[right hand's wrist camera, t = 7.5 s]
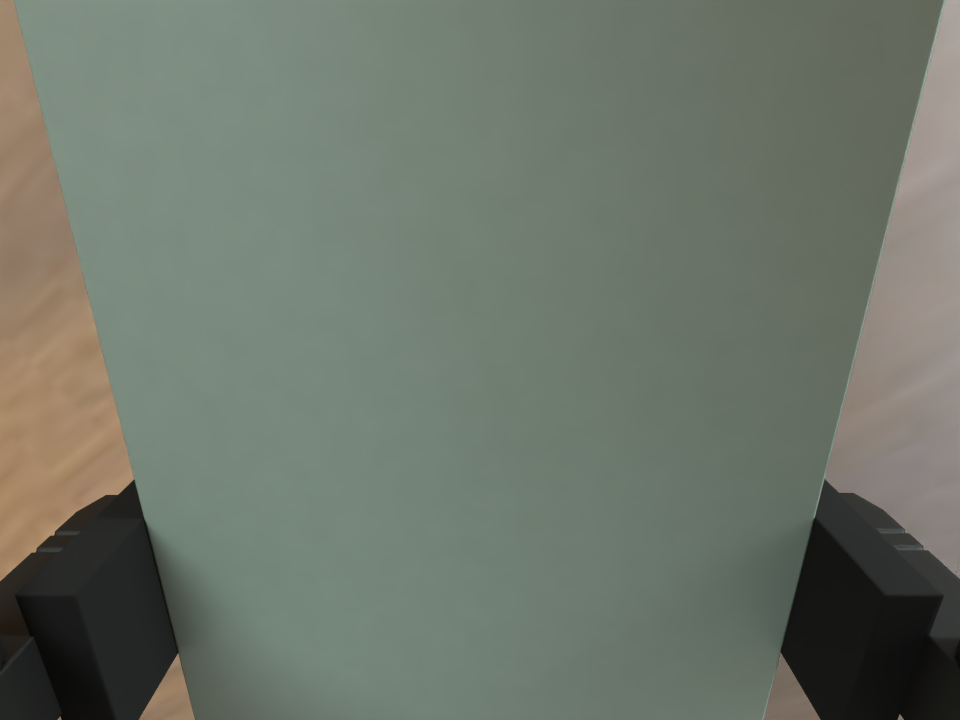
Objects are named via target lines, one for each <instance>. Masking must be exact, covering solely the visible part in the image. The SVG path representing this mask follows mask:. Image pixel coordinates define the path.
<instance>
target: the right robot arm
mask: <svg viewBox="0 0 960 720" xmlns="http://www.w3.org/2000/svg"><path fill="white" fill-rule="evenodd" d="M781 653H782V655H783V657H784V658H785V660H786V662H787V663H788V665H789V667H790V669H791V670H792V672H793V674H794V675H795V677H796V679H797V680H798V682H799V684H800V685H801V687H802V689H803V690H804V692H805V694H806V695H807V697H808V699H809V701H810V702H811V704H812V706H813V707H814V709H815V711H816V712H817V714H818V716H819V717H820V719H821V720H897V719H898V717H899V714H900V715H901V716H902V717H903V719H904V720H960V579H959V578H958V577H957V576H956V575H954V574H953V573H952V572H951V571H950V570H949V569H948V568H947V567H946V566H945V565H943V564H942V563H941V562H940V561H939V560H938V559H937V558H936V557H935V556H933V555H932V554H931V553H930V552H929V551H928V550H924V549H923V546H922V545H921V544H920V543H919V542H918V541H917V540H916V539H915V538H914V537H912V536H911V535H910V534H906V533H905V529H904V528H903V527H901V526H900V525H899V524H898V523H897V522H896V521H895V520H894V519H893V518H892V517H890V516H889V515H888V514H887V513H886V512H885V511H884V510H882V509H881V508H879V507H877V506H875V505H874V504H872V503H870V502H868V501H867V500H865V499H863V498H861V497H859V496H858V495H856V494H854V493H838V492H837V491H836V490H835V489H834V488H833V487H832V486H831V485H830V484H829V483H828V482H827V481H826V480H825V479H824V483H823V487H822V491H821V495H820V499H819V503H818V507H817V510H816V514H815V518H814V522H813V526H812V530H811V534H810V538H809V542H808V546H807V550H806V554H805V558H804V562H803V566H802V570H801V574H800V578H799V582H798V585H797V589H796V593H795V597H794V601H793V605H792V609H791V613H790V617H789V621H788V625H787V629H786V633H785V637H784V641H783V645H782V649H781ZM177 654H178V650H177V646H176V642H175V638H174V634H173V630H172V626H171V622H170V618H169V614H168V610H167V606H166V602H165V598H164V594H163V590H162V586H161V582H160V578H159V574H158V570H157V566H156V562H155V559H154V555H153V551H152V547H151V543H150V539H149V535H148V531H147V527H146V523H145V519H144V515H143V511H142V507H141V503H140V499H139V495H138V491H137V487H136V483H135V479H134V480H133V481H132V482H131V483H130V484H129V485H128V486H127V487H126V488H125V489H124V490H123V491H122V492H121V493H120V494H119V495H105V496H104V497H102V498H100V499H98V500H97V501H95V502H93V503H91V504H90V505H88V506H86V507H84V508H83V509H81V510H79V511H77V512H76V513H75V514H74V515H73V516H72V517H71V518H69V519H68V520H67V521H66V522H65V523H64V524H63V525H62V526H61V527H60V528H58V529H57V530H56V531H55V535H54V536H50V537H49V538H48V539H46V540H45V541H44V542H43V543H42V544H41V545H40V546H39V547H38V548H37V551H36V553H31V554H30V555H29V556H28V557H27V558H26V559H24V560H23V561H22V562H21V563H20V564H19V565H18V566H17V567H16V568H15V569H13V570H12V571H11V572H10V573H9V574H8V575H7V576H6V577H5V578H4V579H3V580H1V581H0V720H57V719H58V718H59V717H60V716H61V719H62V720H139V718H140V716H141V715H142V713H143V711H144V710H145V708H146V706H147V704H148V703H149V701H150V699H151V698H152V696H153V694H154V693H155V691H156V689H157V688H158V686H159V684H160V683H161V681H162V679H163V677H164V676H165V674H166V672H167V671H168V669H169V667H170V666H171V664H172V662H173V661H174V659H175V657H176V656H177Z"/></svg>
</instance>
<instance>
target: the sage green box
mask: <svg viewBox="0 0 960 720" xmlns="http://www.w3.org/2000/svg"><path fill="white" fill-rule="evenodd" d="M945 1H946V0H14V3H15V7H16V11H17V15H18V19H19V23H20V27H21V31H22V35H23V39H24V43H25V47H26V51H27V55H28V59H29V63H30V67H31V71H32V75H33V78H34V82H35V86H36V90H37V94H38V98H39V102H40V106H41V110H42V114H43V118H44V122H45V126H46V130H47V134H48V138H49V142H50V146H51V150H52V154H53V158H54V162H55V166H56V170H57V174H58V178H59V182H60V186H61V190H62V194H63V198H64V201H65V205H66V209H67V213H68V217H69V221H70V225H71V229H72V233H73V237H74V241H75V245H76V249H77V253H78V257H79V261H80V265H81V269H82V273H83V277H84V281H85V285H86V289H87V293H88V297H89V301H90V305H91V309H92V313H93V317H94V320H95V324H96V328H97V332H98V336H99V340H100V344H101V348H102V352H103V356H104V360H105V364H106V368H107V372H108V376H109V380H110V384H111V388H112V392H113V396H114V400H115V404H116V408H117V412H118V416H119V420H120V424H121V428H122V432H123V436H124V440H125V443H126V447H127V451H128V455H129V459H130V463H131V467H132V471H133V475H134V479H135V483H136V487H137V491H138V495H139V499H140V503H141V507H142V511H143V515H144V519H145V523H146V527H147V531H148V535H149V539H150V543H151V547H152V551H153V555H154V559H155V562H156V566H157V570H158V574H159V578H160V582H161V586H162V590H163V594H164V598H165V602H166V606H167V610H168V614H169V618H170V622H171V626H172V630H173V634H174V638H175V642H176V646H177V650H178V654H179V658H180V662H181V666H182V670H183V674H184V678H185V682H186V685H187V689H188V693H189V697H190V701H191V705H192V709H193V713H194V717H195V720H764V716H765V712H766V708H767V704H768V700H769V696H770V692H771V688H772V684H773V680H774V676H775V672H776V668H777V664H778V661H779V657H780V653H781V649H782V645H783V641H784V637H785V633H786V629H787V625H788V621H789V617H790V613H791V609H792V605H793V601H794V597H795V593H796V589H797V585H798V582H799V578H800V574H801V570H802V566H803V562H804V558H805V554H806V550H807V546H808V542H809V538H810V534H811V530H812V526H813V522H814V518H815V514H816V510H817V507H818V503H819V499H820V495H821V491H822V487H823V483H824V479H825V475H826V471H827V467H828V463H829V459H830V455H831V451H832V447H833V443H834V439H835V435H836V431H837V428H838V424H839V420H840V416H841V412H842V408H843V404H844V400H845V396H846V392H847V388H848V384H849V380H850V376H851V372H852V368H853V364H854V360H855V356H856V353H857V349H858V345H859V341H860V337H861V333H862V329H863V325H864V321H865V317H866V313H867V309H868V305H869V301H870V297H871V293H872V289H873V285H874V281H875V277H876V274H877V270H878V266H879V262H880V258H881V254H882V250H883V246H884V242H885V238H886V234H887V230H888V226H889V222H890V218H891V214H892V210H893V206H894V202H895V199H896V195H897V191H898V187H899V183H900V179H901V175H902V171H903V167H904V163H905V159H906V155H907V151H908V147H909V143H910V139H911V135H912V131H913V127H914V124H915V120H916V116H917V112H918V108H919V104H920V100H921V96H922V92H923V88H924V84H925V80H926V76H927V72H928V68H929V64H930V60H931V56H932V52H933V48H934V45H935V41H936V37H937V33H938V29H939V25H940V21H941V17H942V13H943V9H944V5H945Z"/></svg>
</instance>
